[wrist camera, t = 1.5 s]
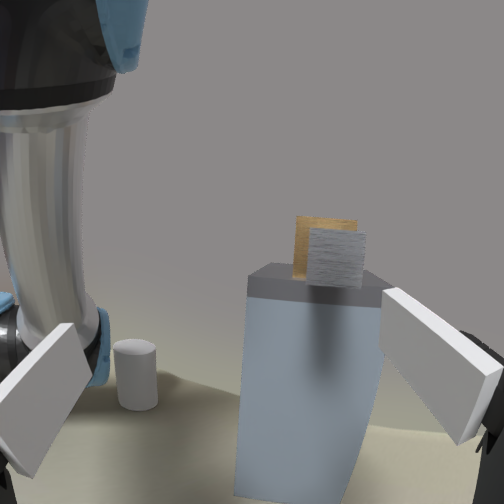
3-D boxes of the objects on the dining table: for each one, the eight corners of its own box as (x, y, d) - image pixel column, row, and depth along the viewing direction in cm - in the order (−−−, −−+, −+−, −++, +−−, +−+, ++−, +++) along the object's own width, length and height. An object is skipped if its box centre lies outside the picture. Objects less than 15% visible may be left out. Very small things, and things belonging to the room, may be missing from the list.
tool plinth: (338, 506, 28) (395, 287, 26) (233, 495, 31) (248, 276, 29) (336, 441, 44) (366, 270, 42) (256, 433, 46) (271, 262, 45)
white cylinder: (155, 390, 58) (153, 339, 57) (160, 410, 51) (157, 354, 50) (118, 390, 55) (113, 338, 54) (118, 411, 48) (112, 354, 47)
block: (383, 317, 15) (394, 206, 15) (274, 309, 16) (283, 197, 16) (342, 271, 39) (346, 224, 38) (297, 267, 40) (300, 221, 40)
